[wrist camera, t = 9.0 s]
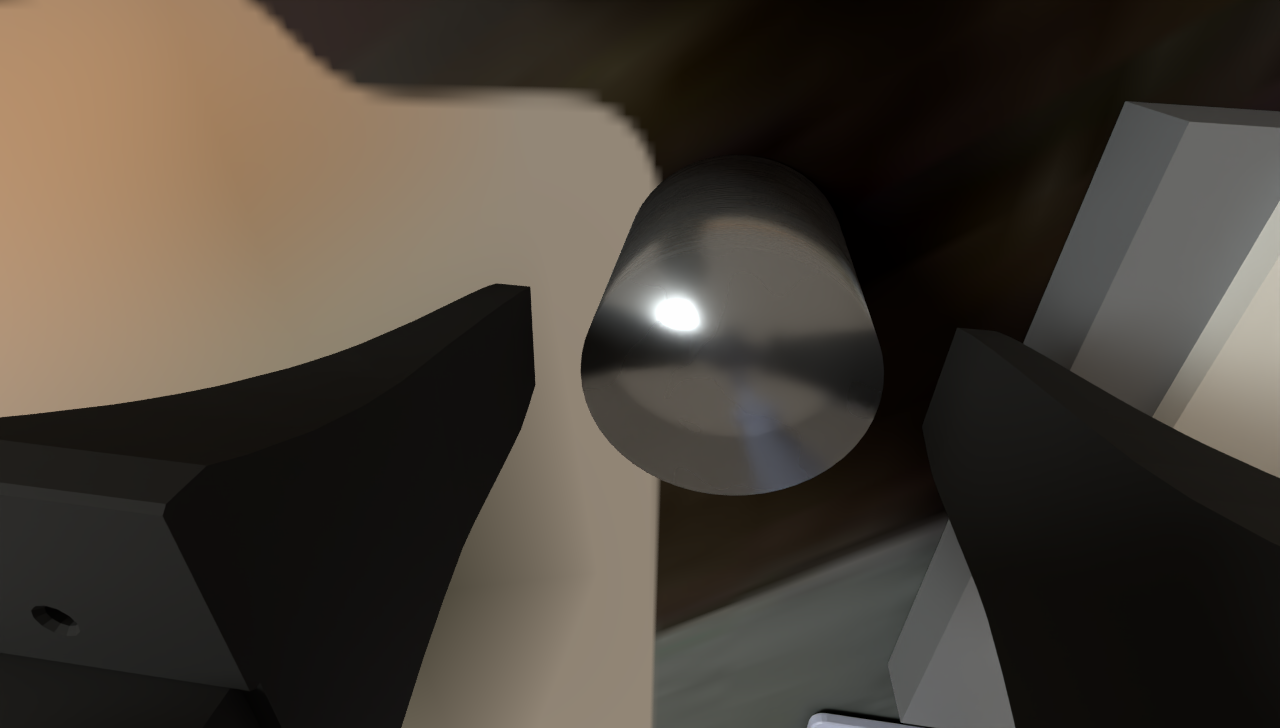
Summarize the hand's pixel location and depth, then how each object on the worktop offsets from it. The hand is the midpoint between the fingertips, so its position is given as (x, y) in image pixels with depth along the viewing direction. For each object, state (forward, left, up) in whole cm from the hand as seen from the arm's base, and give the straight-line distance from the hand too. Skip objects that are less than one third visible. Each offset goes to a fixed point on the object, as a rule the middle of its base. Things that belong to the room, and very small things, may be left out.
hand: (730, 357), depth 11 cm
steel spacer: (0, 0, -4) cm, 4 cm away
